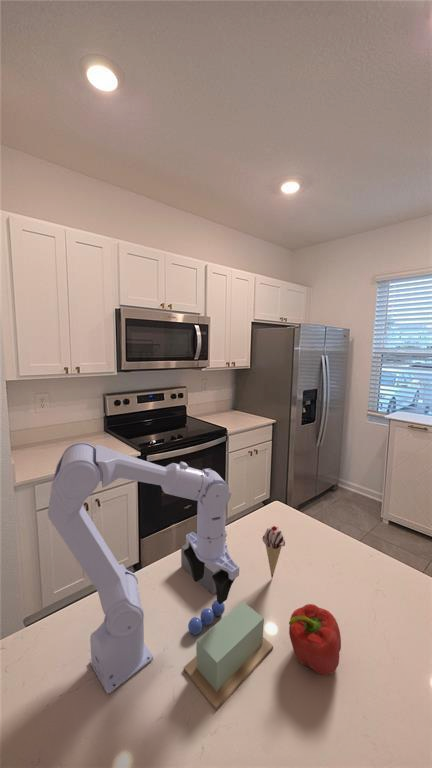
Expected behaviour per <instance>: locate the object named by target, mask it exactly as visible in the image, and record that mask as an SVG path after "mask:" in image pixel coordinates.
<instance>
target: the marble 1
mask: <svg viewBox="0 0 432 768" xmlns="http://www.w3.org/2000/svg"><path fill="white" fill-rule="evenodd" d="M187 627H188V631H189V634H191V635H193V636H197V635H199V634H200V633H201V632H202V629H203V623H202V622H201V619H200V617H197V616H194V617H193V618H191V619H190V620H189V621H188V624H187Z"/></svg>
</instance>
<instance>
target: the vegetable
mask: <svg viewBox="0 0 432 768" xmlns="http://www.w3.org/2000/svg"><path fill="white" fill-rule="evenodd" d="M289 619H290V620H289V622H288V625H289V628H288V629H289V630H288V635H289V638H290V643H291V646H292V649H293V653H294V654H295V655H294V656H295V657H296V659H297V660H298V662H299V663H301V664H302V665H303V666H305V667H306V666H307V667H308V666H309V667H310V668H311V669H312V671H313V670H314V671H315V672H316V673H317V674H320V675H329V674H333V673H334V672H335V671H336V670H337V668H338V667H339V663H340V652H341V650H342V649H341V648H342V638H341V631H340V627H339V624H338V621H337V619H336V618H335V617H334V615H333V614H332V612H330V611H329V610H327V609H325V608H322V607H319V606H317V605H316V604H312V603H307V604H305V605H303V606H301V607H299V608H297V609H295V610H294V611H293V612H292V614H291V616H290V618H289Z"/></svg>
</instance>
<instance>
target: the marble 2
mask: <svg viewBox="0 0 432 768" xmlns="http://www.w3.org/2000/svg"><path fill="white" fill-rule="evenodd" d="M214 618H215V614H214V613H213V611H212V608H208V607H207V608H206V607H205V608H204V609H202V610H201V612H200V617H199V619H200V620H201V622H202V625H205V626H209V625H211V624H212V623H213V622H214Z"/></svg>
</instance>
